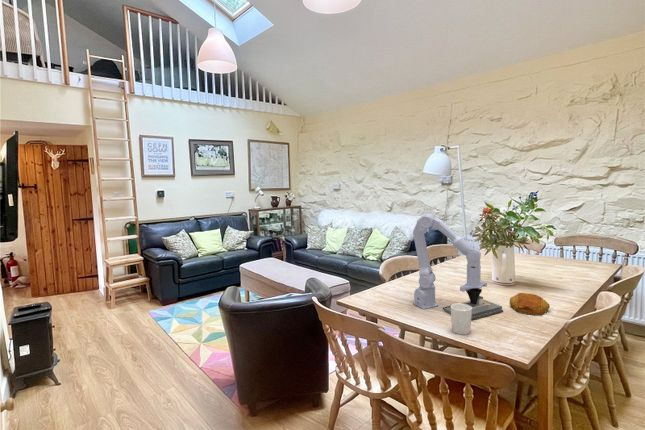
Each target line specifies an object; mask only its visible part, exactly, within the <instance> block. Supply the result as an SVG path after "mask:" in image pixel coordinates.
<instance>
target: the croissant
mask: <svg viewBox="0 0 645 430" xmlns="http://www.w3.org/2000/svg"><path fill="white" fill-rule="evenodd" d="M509 305H510V308H512V309H513V310H514V311H515V312H518V313H520V314H525V315H531V316H534V315H536V316H537V315H539V316H541V315H544V313H545V314H546V313H547V312H548V311H549V309H550V307H551V306H550V304H549V302H547V301H546V300H545V299H544V298H543V297H542V296H539V295H537V294H534V293H525V292H518V293H517V294H515V295H513V296H510V298H509Z"/></svg>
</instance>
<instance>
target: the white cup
mask: <svg viewBox="0 0 645 430" xmlns="http://www.w3.org/2000/svg"><path fill="white" fill-rule="evenodd" d="M460 303H461V302H460ZM460 303H453V304H451V305H450V306H451V315H450V319H451V320H450V321H451V329H452V332H453V333H455V334H457V335H461V336H462V335H465V336H466V335H469V334H470V333H471V326H472V321H471V317H472V307H471V306H469V305H466V304H460ZM472 318H473V317H472Z"/></svg>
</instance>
